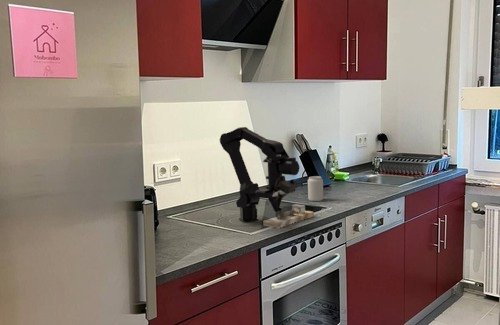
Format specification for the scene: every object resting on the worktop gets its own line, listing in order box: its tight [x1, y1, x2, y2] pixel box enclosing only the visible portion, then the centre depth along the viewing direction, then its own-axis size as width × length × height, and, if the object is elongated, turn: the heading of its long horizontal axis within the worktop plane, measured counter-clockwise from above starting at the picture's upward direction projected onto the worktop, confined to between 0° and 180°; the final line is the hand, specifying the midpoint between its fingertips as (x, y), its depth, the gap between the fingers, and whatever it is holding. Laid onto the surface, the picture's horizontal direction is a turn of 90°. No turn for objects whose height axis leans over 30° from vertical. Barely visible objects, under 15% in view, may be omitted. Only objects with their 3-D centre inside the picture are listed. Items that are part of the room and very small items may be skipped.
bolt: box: [275, 206, 295, 219], centre depth 203 cm, size 10×3×5 cm, turn 138°
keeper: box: [291, 203, 306, 214], centre depth 209 cm, size 3×5×3 cm, turn 48°
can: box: [307, 175, 324, 202], centre depth 245 cm, size 8×8×12 cm
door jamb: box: [263, 209, 315, 229], centre depth 205 cm, size 24×8×2 cm, turn 138°
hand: (276, 211), depth 199 cm, fingers closed
